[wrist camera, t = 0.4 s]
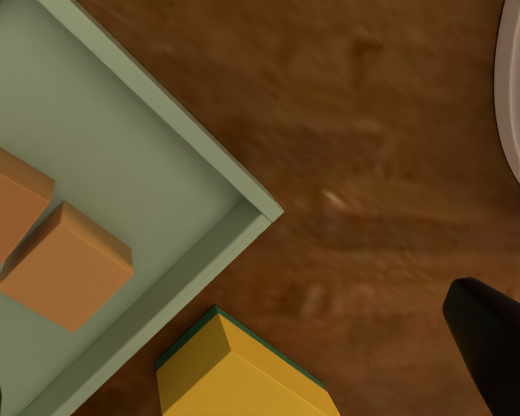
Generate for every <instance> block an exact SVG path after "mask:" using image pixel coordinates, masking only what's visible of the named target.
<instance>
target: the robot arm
mask: <svg viewBox="0 0 520 416" xmlns="http://www.w3.org/2000/svg"><path fill="white" fill-rule="evenodd" d="M443 315H444V318H445V320H446V322H447V325H448V327H449V329H450V331H451V333H452V336H453V338H454V340H455V342H456V344H457V347H458V349H459V351H460V353H461V355H462V358H463V360H464V362H465V364H466V366H467V369H468V371H469V373H470V375H471V377H472V379H473V381H474V383H475V385H476V387H477V388H478V390H479V392H480V394H481V396H482V397H483V399H484V401H485V403H486V404H487V406H488V408H489V409H490V411H491V413H492V415H493V416H520V303H519V302H517V301H515V300H513V299H512V298H510V297H508V296H506V295H505V294H503V293H501V292H499V291H497V290H496V289H494V288H492V287H490V286H489V285H487V284H485V283H483V282H481V281H480V280H478V279H476V278H473V277H467V278H461V279H456V280H454V281H453V282H452V283H451V286H450V288H449V291H448V293H447V296H446V298H445V301H444V303H443ZM1 403H2V393H1V387H0V415H1Z"/></svg>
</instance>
